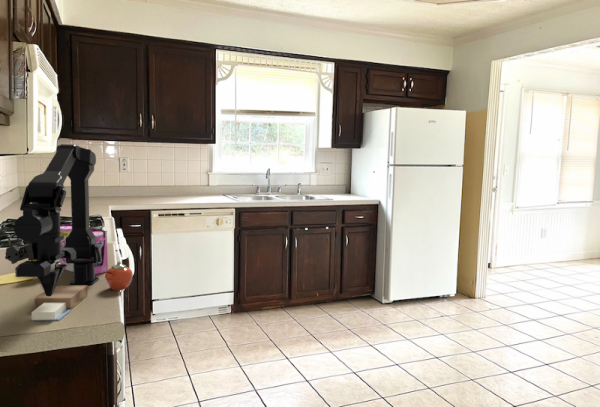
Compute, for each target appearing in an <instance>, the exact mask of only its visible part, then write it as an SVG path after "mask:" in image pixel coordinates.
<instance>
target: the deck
mask: <svg viewBox="0 0 600 407" xmlns="http://www.w3.org/2000/svg"><path fill="white" fill-rule="evenodd" d="M88 292H89V291H88V285H69V284H68V285H66V284H65V285H63V284H62V285H61V284H60V285H58V284H57V286H56V288H55V290H54V293H53V295H52V296H46V294H45V292H42V293H41V294H39V295H38V296H36V297H35V298H34V310H35V309H37V308H38V307H39V306H41V305H42V304H43V303H44V302H66V310H71V311H72V310H73V309H74V308H75V307H77V305H79V304H80V303H81V302H83V301H84V300H85V299H87V297H88V296H89V295H88ZM84 298H85V299H84ZM83 299H84V300H83Z"/></svg>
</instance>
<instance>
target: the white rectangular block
mask: <svg viewBox="0 0 600 407" xmlns="http://www.w3.org/2000/svg"><path fill="white" fill-rule="evenodd" d="M65 310H66V302H44V303H43V304H42V305H41V306H39V307H38V308H37V309H35V308H34V310H33V311H31V319H32V320H37V321H56V320H55V319H56V318H57V317H58V316H59V315H60V314H61V313H62V312H64V311H65Z"/></svg>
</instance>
